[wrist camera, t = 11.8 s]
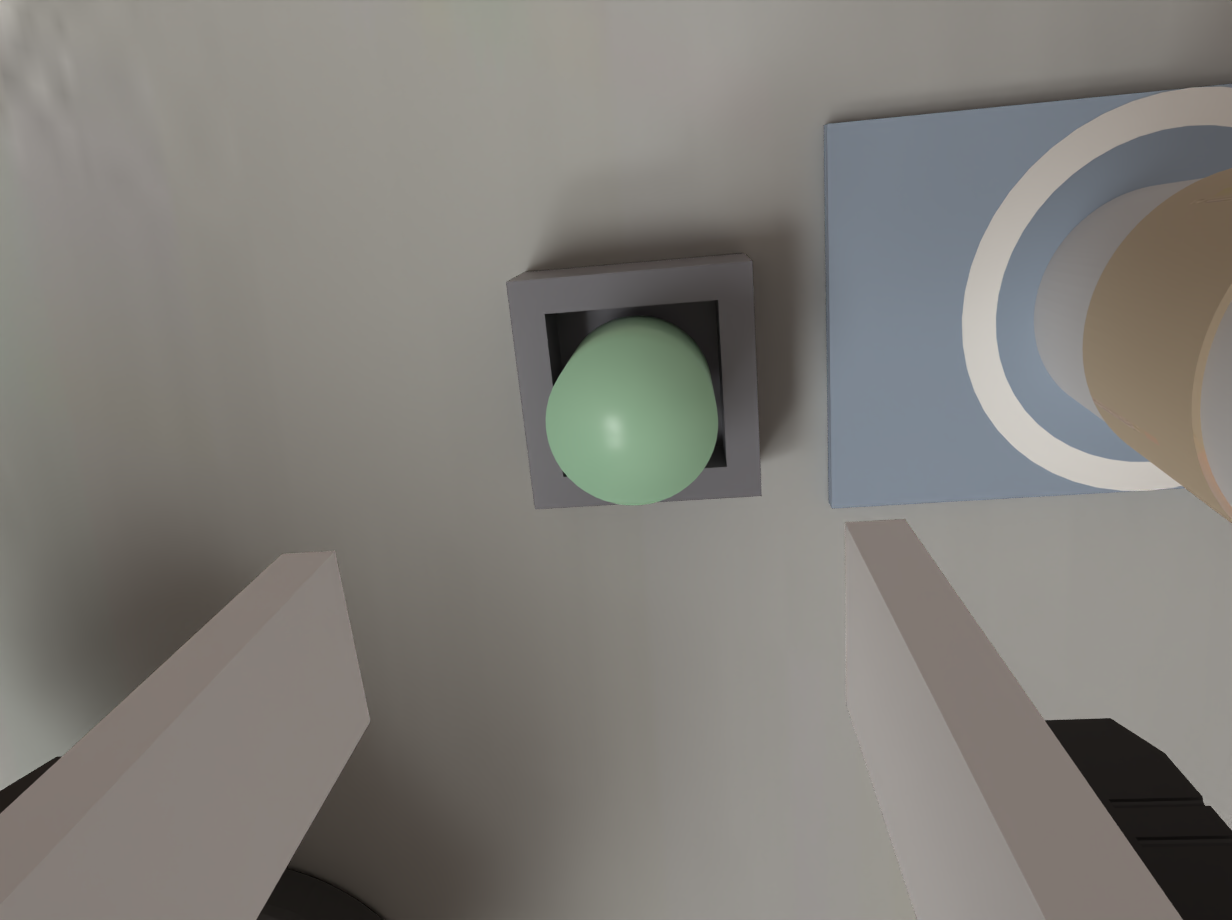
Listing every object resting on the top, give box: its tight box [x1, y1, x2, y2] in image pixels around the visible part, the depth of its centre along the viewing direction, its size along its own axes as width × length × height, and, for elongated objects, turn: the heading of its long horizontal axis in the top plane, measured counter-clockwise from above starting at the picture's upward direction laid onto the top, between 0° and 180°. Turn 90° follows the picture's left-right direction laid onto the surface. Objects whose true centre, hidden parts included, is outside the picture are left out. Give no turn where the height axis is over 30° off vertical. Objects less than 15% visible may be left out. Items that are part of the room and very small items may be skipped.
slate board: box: [824, 84, 1232, 508], centre depth 25 cm, size 20×12×1 cm, turn 95°
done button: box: [546, 315, 718, 505], centre depth 23 cm, size 4×4×4 cm
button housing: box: [506, 253, 762, 509], centre depth 26 cm, size 7×7×3 cm
